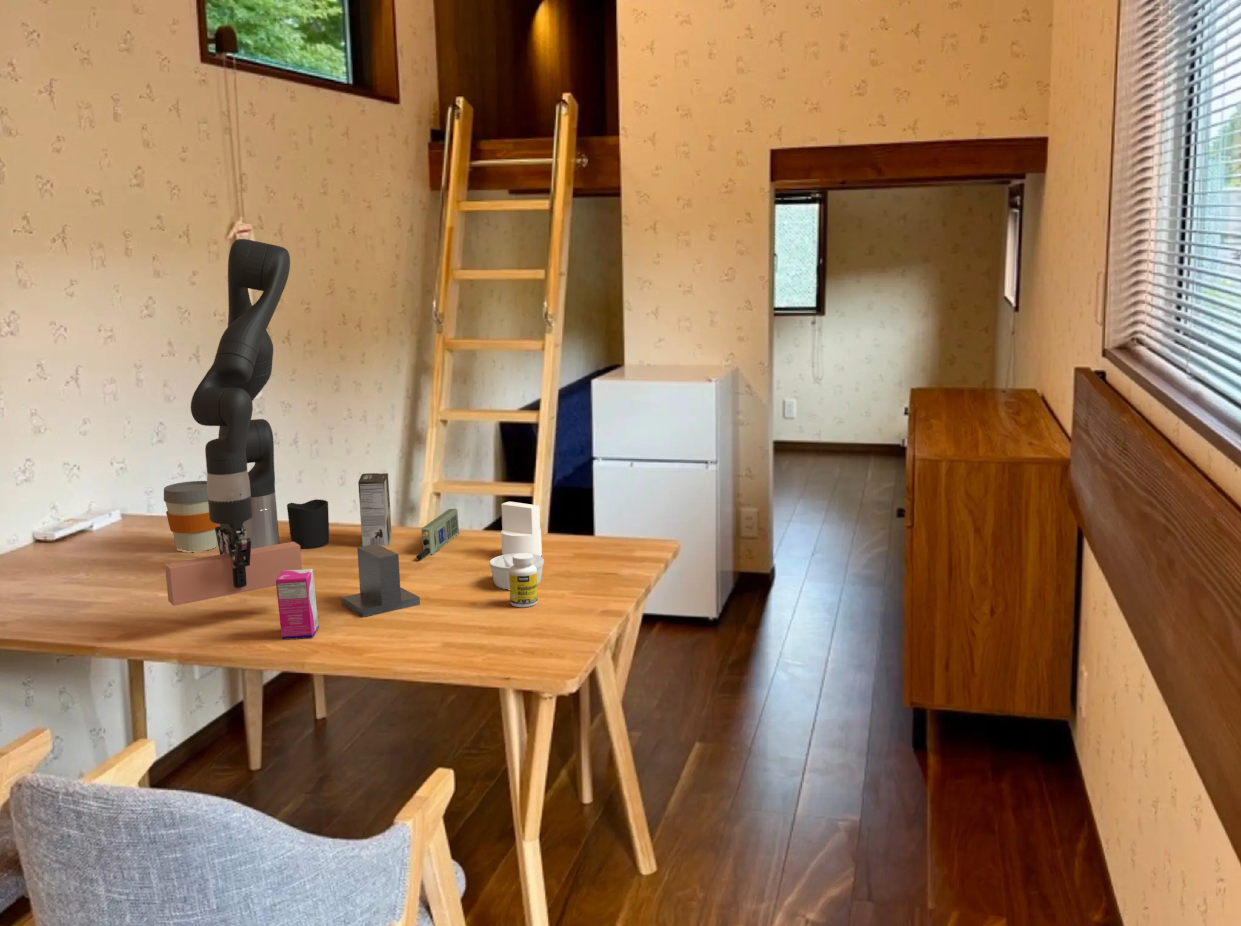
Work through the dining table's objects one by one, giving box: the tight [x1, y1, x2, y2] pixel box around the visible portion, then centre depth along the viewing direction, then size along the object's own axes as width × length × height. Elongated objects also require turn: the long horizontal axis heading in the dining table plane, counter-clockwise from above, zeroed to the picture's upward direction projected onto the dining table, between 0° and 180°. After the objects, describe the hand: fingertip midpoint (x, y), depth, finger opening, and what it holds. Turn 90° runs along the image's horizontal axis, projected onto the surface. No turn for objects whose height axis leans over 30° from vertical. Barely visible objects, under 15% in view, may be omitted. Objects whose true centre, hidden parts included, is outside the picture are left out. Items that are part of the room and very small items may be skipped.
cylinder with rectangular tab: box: [500, 501, 543, 556], centre depth 249 cm, size 9×9×12 cm
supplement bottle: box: [509, 553, 538, 608], centre depth 216 cm, size 5×5×10 cm
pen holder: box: [286, 499, 330, 550], centre depth 262 cm, size 9×9×10 cm
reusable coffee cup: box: [163, 480, 220, 551], centre depth 260 cm, size 12×13×15 cm
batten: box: [164, 541, 303, 607], centre depth 206 cm, size 4×24×7 cm, turn 127°
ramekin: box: [488, 553, 545, 590], centre depth 229 cm, size 11×11×5 cm
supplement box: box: [275, 568, 319, 640], centre depth 201 cm, size 6×6×12 cm
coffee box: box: [357, 472, 393, 547], centre depth 262 cm, size 9×6×16 cm
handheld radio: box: [416, 508, 460, 561], centre depth 258 cm, size 7×3×25 cm
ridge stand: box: [340, 544, 421, 618], centre depth 216 cm, size 10×12×11 cm
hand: (236, 583), depth 207 cm, fingers closed on batten, 3 cm apart
